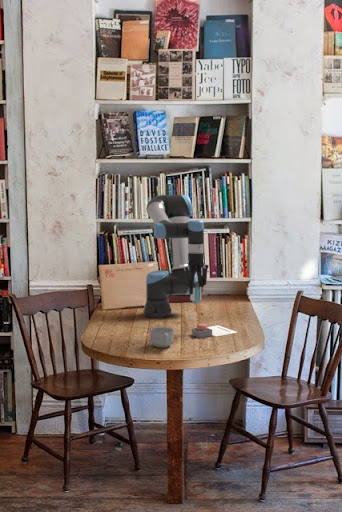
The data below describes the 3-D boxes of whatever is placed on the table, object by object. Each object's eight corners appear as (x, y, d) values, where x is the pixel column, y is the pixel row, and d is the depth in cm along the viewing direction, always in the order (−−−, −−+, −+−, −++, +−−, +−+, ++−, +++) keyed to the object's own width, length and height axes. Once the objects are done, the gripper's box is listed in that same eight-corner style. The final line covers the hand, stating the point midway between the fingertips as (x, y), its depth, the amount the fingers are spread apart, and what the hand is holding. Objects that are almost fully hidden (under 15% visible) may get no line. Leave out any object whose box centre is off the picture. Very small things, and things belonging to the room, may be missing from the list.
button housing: (191, 334, 354) (191, 328, 354) (203, 332, 358) (203, 326, 357) (200, 337, 348) (200, 331, 348) (212, 335, 352) (212, 329, 351)
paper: (196, 329, 363) (196, 328, 363) (218, 325, 370) (218, 325, 370) (216, 336, 350) (216, 336, 350) (237, 332, 357) (237, 332, 357)
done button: (194, 331, 353) (194, 324, 353) (203, 330, 356) (203, 323, 356) (200, 333, 349) (200, 326, 349) (209, 332, 352) (209, 325, 351)
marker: (191, 302, 360) (190, 282, 359) (196, 301, 362) (196, 281, 360) (194, 303, 357) (194, 283, 356) (200, 303, 359) (200, 282, 358)
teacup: (149, 343, 340) (149, 326, 339) (173, 342, 341) (173, 325, 340) (151, 351, 327) (151, 334, 325) (175, 351, 327) (175, 333, 326)
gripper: (185, 254, 349) (185, 303, 352) (214, 251, 357) (214, 299, 360) (177, 252, 355) (177, 300, 358) (205, 250, 363) (205, 297, 367)
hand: (195, 300), depth 359 cm, fingers closed on marker, 3 cm apart
